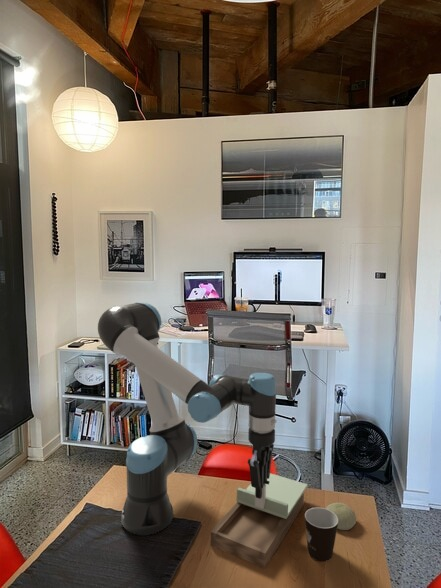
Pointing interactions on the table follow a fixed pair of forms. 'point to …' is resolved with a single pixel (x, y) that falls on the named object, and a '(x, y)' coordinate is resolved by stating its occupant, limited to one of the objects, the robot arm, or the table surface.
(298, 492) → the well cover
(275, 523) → the brown wooden shallow box
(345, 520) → the sea urchin shell
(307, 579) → the table surface
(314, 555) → the coffee mug
